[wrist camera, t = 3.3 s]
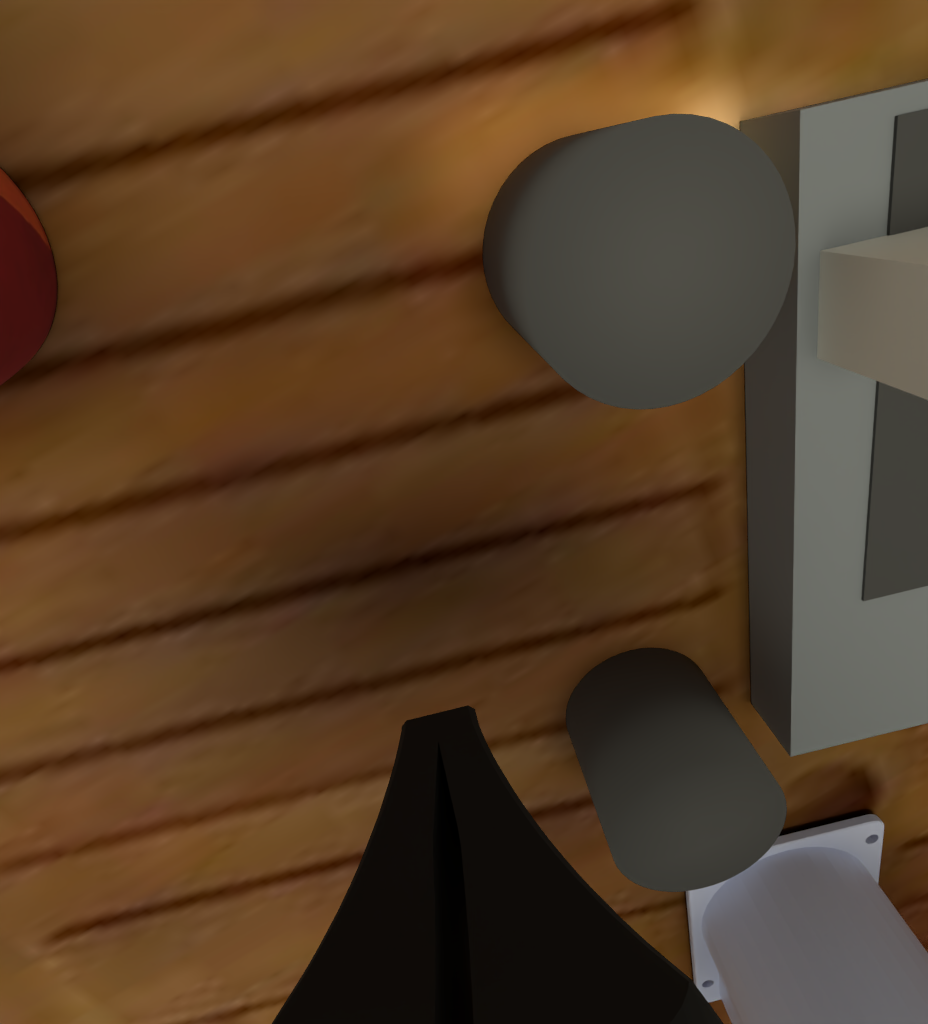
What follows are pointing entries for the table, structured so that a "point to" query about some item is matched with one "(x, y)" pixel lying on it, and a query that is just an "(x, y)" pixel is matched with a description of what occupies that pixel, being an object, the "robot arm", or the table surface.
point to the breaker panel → (843, 429)
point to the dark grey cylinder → (671, 772)
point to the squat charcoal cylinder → (643, 256)
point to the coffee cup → (23, 280)
